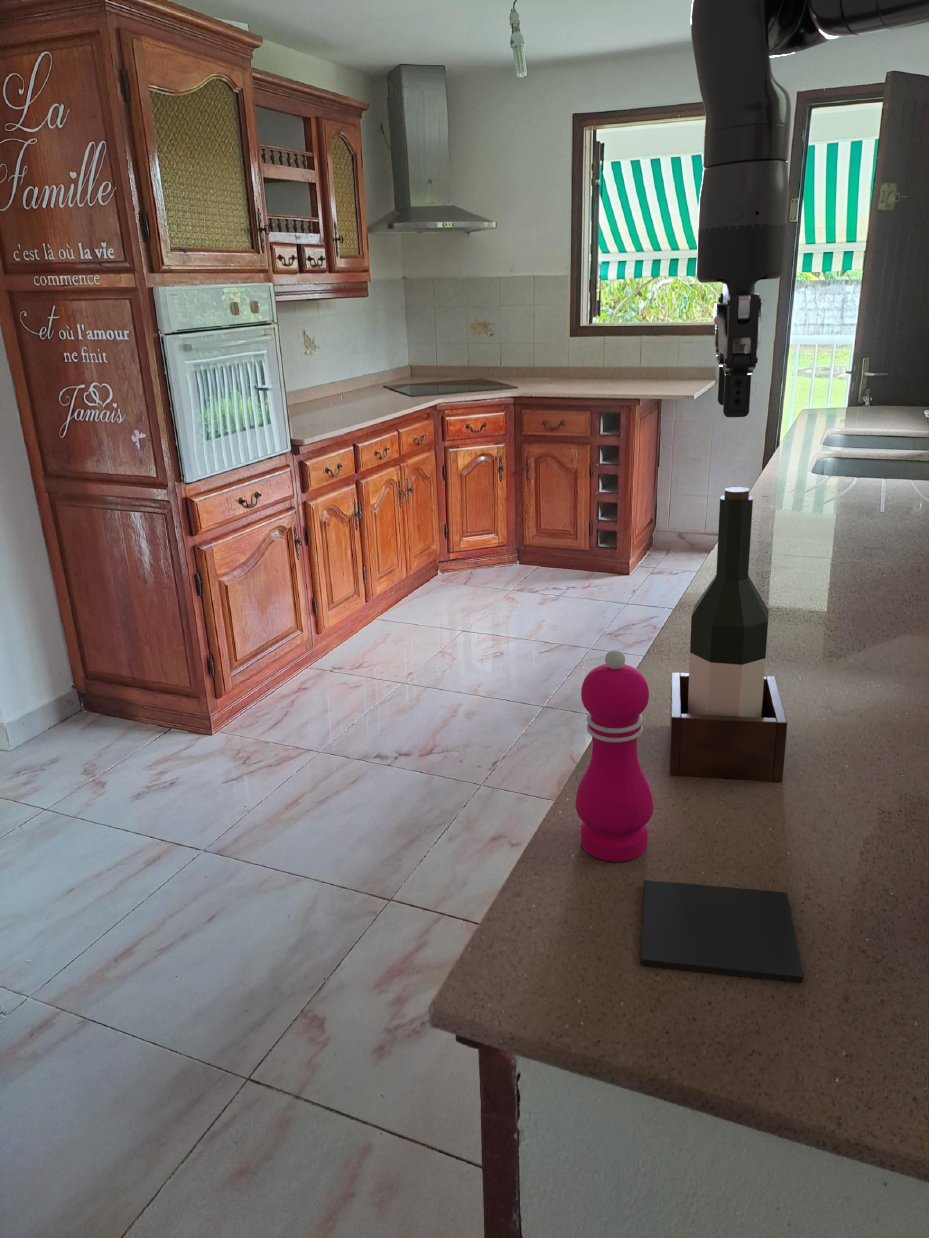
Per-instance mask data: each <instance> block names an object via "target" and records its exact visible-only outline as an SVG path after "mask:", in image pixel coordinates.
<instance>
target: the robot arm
mask: <svg viewBox="0 0 929 1238" xmlns="http://www.w3.org/2000/svg"><path fill="white" fill-rule="evenodd" d="M925 23H929V0H692V4H691V11H690V31H691V32H690V33H691V34H690V35H691V44H692V50H693V57H694V62H695V69H696V75H697V80H698V81H697V82H698V86H699V92H700V97H701V100H702V105H703V109H704V114H705V122H704V123H705V124H704V136H703V137H704V139H703V142H704V143H703V164H702V165H703V170H702V180H701V185H700V191H699V199H698V217H697V218H698V219H697V221H698V222H697V248H696V274H695V275H696V279H697V281H698V282H699V283H703V284H705V283H721V284H722V285H723V292H720V293H719V296H718V303H714V307H713V324H714V325H715V326H714V347H715V353H716V362H717V364H718V365H719V366H718V385H717V403H718V404H719V405H721V406H722V413H723V415H724V417H726V418H745V417H747V416H748V415H749V413H750V404H751V387H752V386H751V385H752V374H754V370H756V366H757V364H758V361H759V358H758V355H757V354H758V350H759V346H760V337H761V336H760V335H761V334H760V331H761V330H760V329H761V327H760V324H761V322H762V316H763V302H762V297H761V296H760V293H756V291H755V290H756V288H755V286H756V283H758V282H759V281H763V280H764V281H765V280H775V279H776V280H777V279H779V278H781V277H782V276H783V274H784V272H785V271H784V270H785V256H786V242H787V228H788V216H789V201H790V199H789V198H790V181H789V180H790V179H789V153H790V152H789V151H790V138H791V137H790V136H791V123H792V102H791V96H790V93H789V92H788V90H787V89H786V88H785V87H784V86H783V85H782V84H781V83H779V82H778V81H777V80H776V78H775V77H774V74H773V72H772V65H771V58H775V57H781V56H787V55H792V54H796V53H800V52H803V51H806V50H808V49H811V48H814V47H815V48H816V47H817V46H821V45H823V44H826V43H829V42H831V41H833V40H835V39H837V38H844V37H845V38H847V37H855V36H860V35H861V36H862V35H868V34H873V33H879V32H885V31H891V30H895V29H901V28H907V27H912V26H917V25H920V24H925Z"/></svg>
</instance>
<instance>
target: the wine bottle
mask: <svg viewBox="0 0 929 1238" xmlns="http://www.w3.org/2000/svg"><path fill="white" fill-rule="evenodd" d="M753 505H754V496H753V495H750V488H749V487H745V486H744V487H743V486H730V487H726V488H724V495H723V494H722V495H720V498H719V511H718V512H719V513H718V532H717V551H716V552H717V553H716V571H715V572H716V574H715V575H714V577H713V579H712V580H711V581H710V583H709V585H708V586H707V588H705V590H704V592H703V593H702V594H701V596H699V599H698V600H697V601H696V603H695V604H694V606H693V609H692V613H691V615H690V616H691V619H690V642H689V643H690V644H689V667H688V668H689V669H688V670H689V671H688V673H689V692H688V714H695V715H717V716H738V717H760V718H761V714H762V700H763V686H764V676H765V670H766V656H767V643H768V631H769V615H770V614H769V612H770V611H769V608H768V607H767V605H766V603H765V601H764V600H763V598H762V596H761V595H760V593H759V591H758V589H757V587H756V586H755V584H754V582H753V581H752V579H751V577H750V575H749V569H750V554H751V552H750V551H751V538H752V523H753V521H752V520H753V507H754V506H753Z"/></svg>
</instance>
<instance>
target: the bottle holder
mask: <svg viewBox="0 0 929 1238" xmlns="http://www.w3.org/2000/svg"><path fill="white" fill-rule="evenodd" d="M688 692H689V672H671V673H670V701H669V702H670V703H669V775H670V776H682V777H696V778H697V777H699V778H714V779H715V778H716V779H732V780H745V781H746V780H747V781H762V782H763V781H765V782H777V783H781V782H783V780H784V768H785V757H786V756H785V755H786V744H787V733H788V720H787V717H786V713H785V708H784V705H783V702H782V701H783V700H782V698H781V694H780V689H779V686H778V682H777V679H776V676H774V675H764V686H763V700H762V714H761V718H760V717H738V716H717V715H695V714H688Z"/></svg>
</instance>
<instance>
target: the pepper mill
mask: <svg viewBox="0 0 929 1238" xmlns="http://www.w3.org/2000/svg"><path fill="white" fill-rule="evenodd" d="M581 684H582V685H581V689H580V698H581V703H582V705H583V707H584V709H585V710H586V711H587V716H586V722H587V724H586V731H587V733H588V734H589V735H590V736H591V740H592V748H591V758H590V761H589V764H588V766H587V768H586V769H585V772H584V774H583V775H582V778H581V779H580V781H579V784H578V787H577V790H576V796H575V811H576V814H577V815H578V817H579V819H580V820H581V821H582V822H581V825H580V842H581V845H582V848H583V849H584V851H585V852H587V853H588V854H589V855H590V856H592V857H594V858H596V859H598V860H602V861H604V862H612V863H617V862H618V863H621V862H628V861H631V860H634V859H636V858H639V857H640V856H641V855H643V854H644V852H645V851H646V850H647V847H648V826H647V823H648V822H650V819H651V818H652V817H653V813H654V797H653V792H652V789H651V786H650V782H649V780H648V779H647V777H646V774H645V772H644V770H643V768H642V766H641V763H640V759H639V756H638V738H639V737H640V736H641V735H642V733H643V729H644V728H643V722H644V718H643V715H642V713H643V712H644V711H645V709H646V708H647V706H648V704H649V699H650V690H649V684H648V682H647V679H646V678H645V676H644V674H642V672H641V671H640V670H638V669H637V668H635V667H633V666H632V665H629V664H626V657H625V654H624V653H623V652H622V651H621V650H618V649H612V650H609V651H608V652H607V653H606V654H605V656H604V663H603V664H600V665H597V666H596V667H594V668H592V669H591V670H590V671H589V672H588V673H587V675H586V676H585V677H584V679H583V681H582V683H581Z"/></svg>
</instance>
